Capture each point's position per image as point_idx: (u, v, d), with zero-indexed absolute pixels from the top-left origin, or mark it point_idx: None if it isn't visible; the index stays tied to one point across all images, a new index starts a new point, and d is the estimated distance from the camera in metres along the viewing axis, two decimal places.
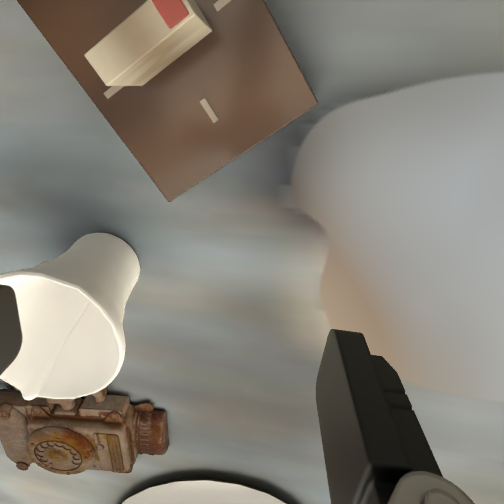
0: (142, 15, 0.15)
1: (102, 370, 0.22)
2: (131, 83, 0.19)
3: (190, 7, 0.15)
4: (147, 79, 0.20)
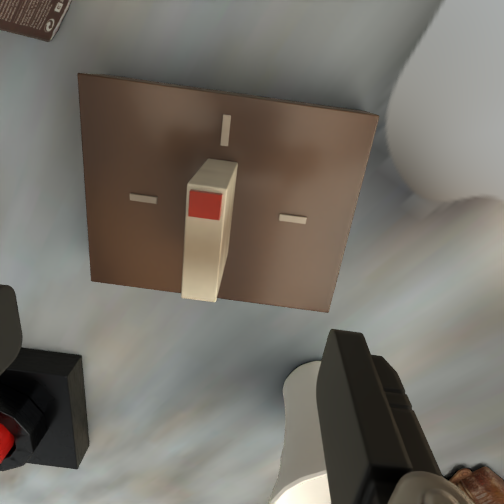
0: (192, 231, 0.14)
1: None
2: (223, 268, 0.18)
3: (218, 188, 0.14)
4: (228, 247, 0.19)
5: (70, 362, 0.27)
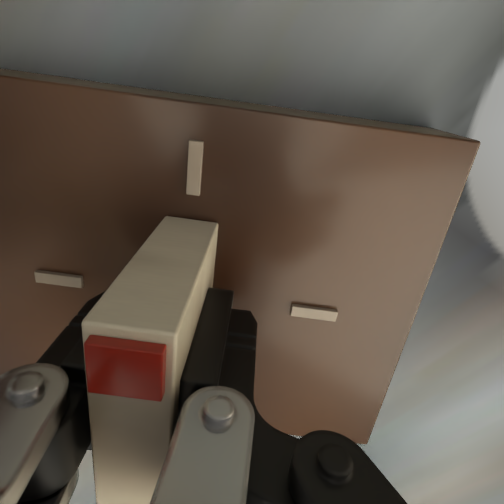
0: (105, 413, 0.06)
1: None
2: None
3: (157, 332, 0.06)
4: None
5: None
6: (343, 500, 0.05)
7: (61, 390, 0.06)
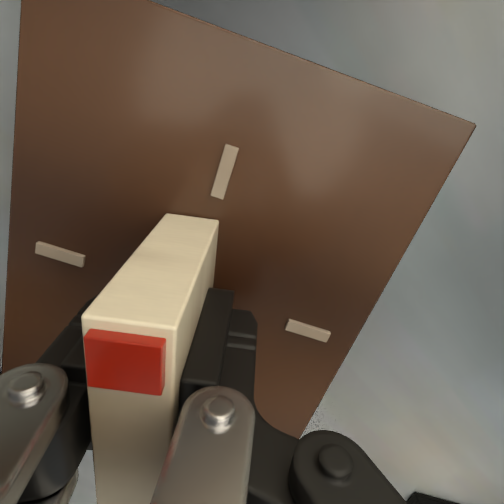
0: (104, 407, 0.06)
1: None
2: None
3: (156, 325, 0.06)
4: None
5: None
6: (343, 500, 0.05)
7: (61, 390, 0.06)
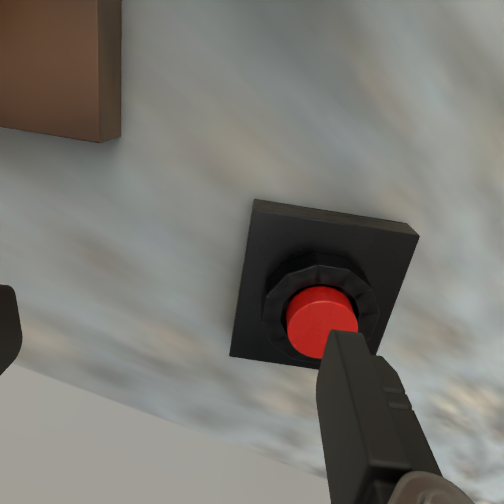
0: None
1: None
2: None
3: None
4: None
5: None
6: None
7: None
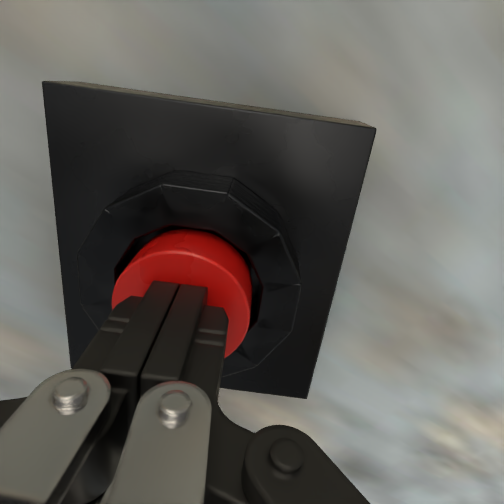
0: None
1: None
2: None
3: None
4: None
5: None
6: (290, 494, 0.05)
7: (104, 397, 0.06)
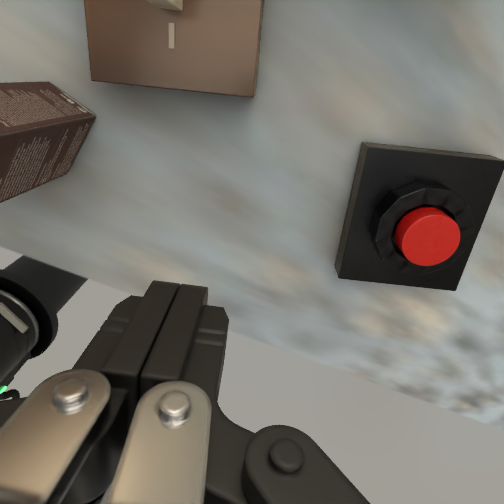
0: None
1: None
2: None
3: None
4: None
5: (362, 149, 0.28)
6: (291, 494, 0.05)
7: (104, 397, 0.06)
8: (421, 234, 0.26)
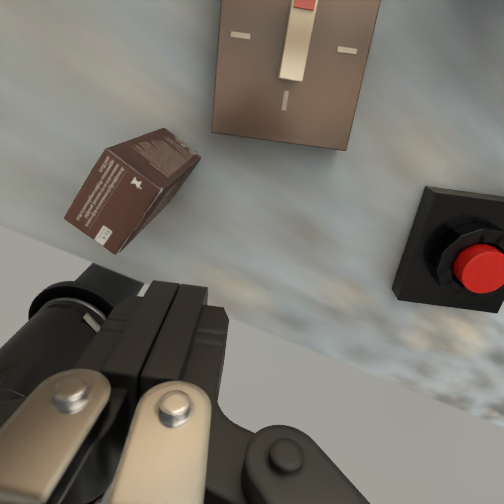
0: (293, 21, 0.22)
1: None
2: None
3: None
4: None
5: (427, 193, 0.33)
6: (291, 494, 0.05)
7: (104, 397, 0.06)
8: (479, 267, 0.31)
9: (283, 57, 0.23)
